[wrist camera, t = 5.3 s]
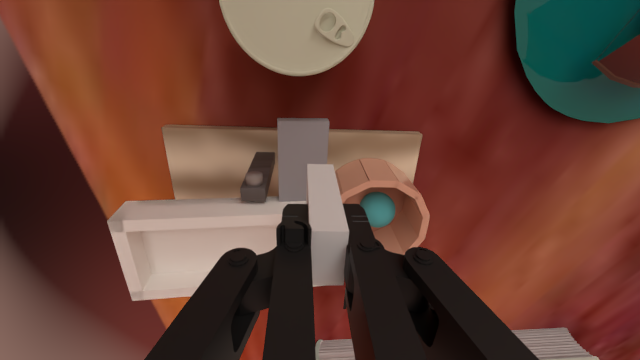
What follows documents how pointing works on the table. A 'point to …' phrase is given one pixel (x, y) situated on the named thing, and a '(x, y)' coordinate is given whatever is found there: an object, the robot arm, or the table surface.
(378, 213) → the ball
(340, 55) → the can
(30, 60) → the table surface
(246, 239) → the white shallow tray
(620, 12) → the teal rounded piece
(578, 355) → the book
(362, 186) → the cup
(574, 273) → the table surface
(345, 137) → the stand
